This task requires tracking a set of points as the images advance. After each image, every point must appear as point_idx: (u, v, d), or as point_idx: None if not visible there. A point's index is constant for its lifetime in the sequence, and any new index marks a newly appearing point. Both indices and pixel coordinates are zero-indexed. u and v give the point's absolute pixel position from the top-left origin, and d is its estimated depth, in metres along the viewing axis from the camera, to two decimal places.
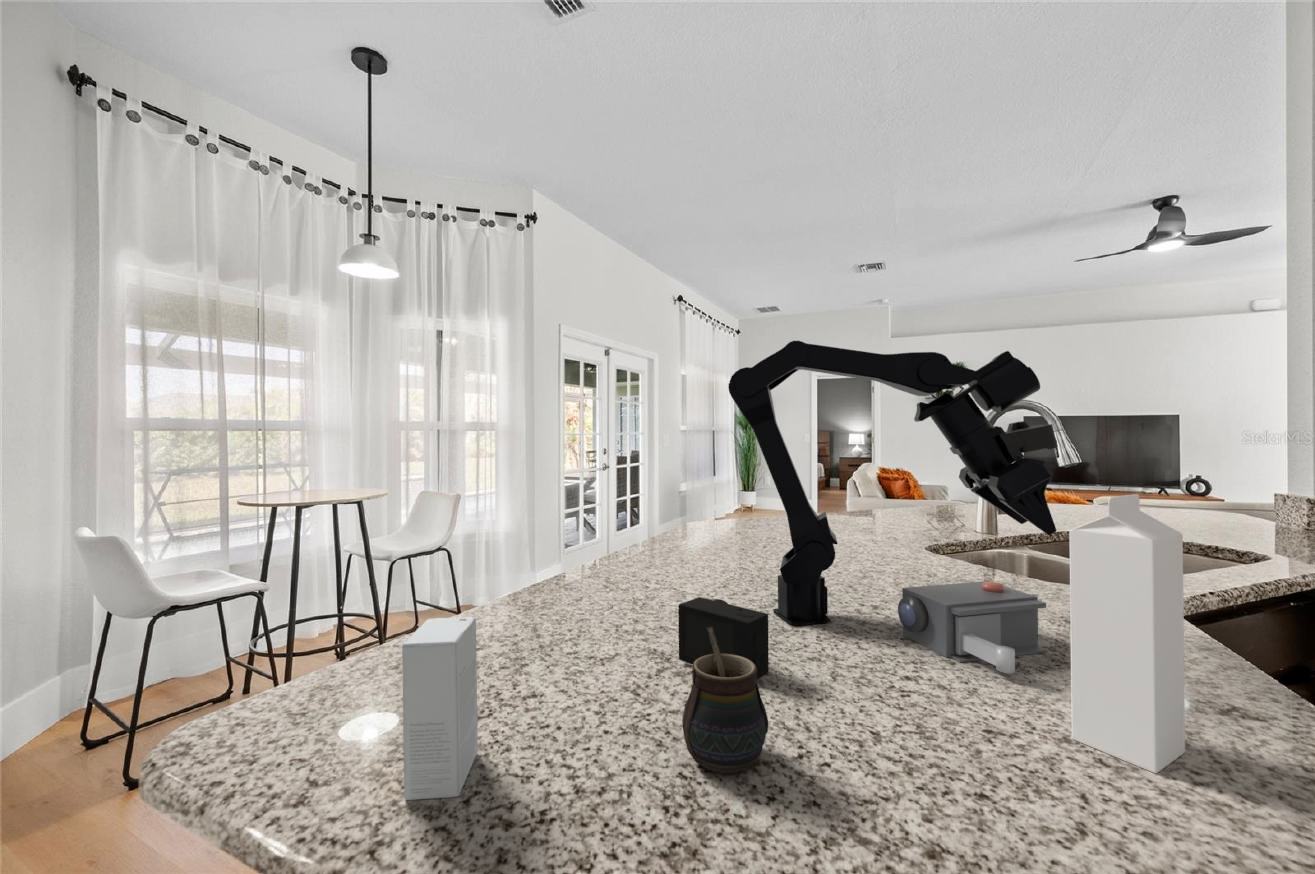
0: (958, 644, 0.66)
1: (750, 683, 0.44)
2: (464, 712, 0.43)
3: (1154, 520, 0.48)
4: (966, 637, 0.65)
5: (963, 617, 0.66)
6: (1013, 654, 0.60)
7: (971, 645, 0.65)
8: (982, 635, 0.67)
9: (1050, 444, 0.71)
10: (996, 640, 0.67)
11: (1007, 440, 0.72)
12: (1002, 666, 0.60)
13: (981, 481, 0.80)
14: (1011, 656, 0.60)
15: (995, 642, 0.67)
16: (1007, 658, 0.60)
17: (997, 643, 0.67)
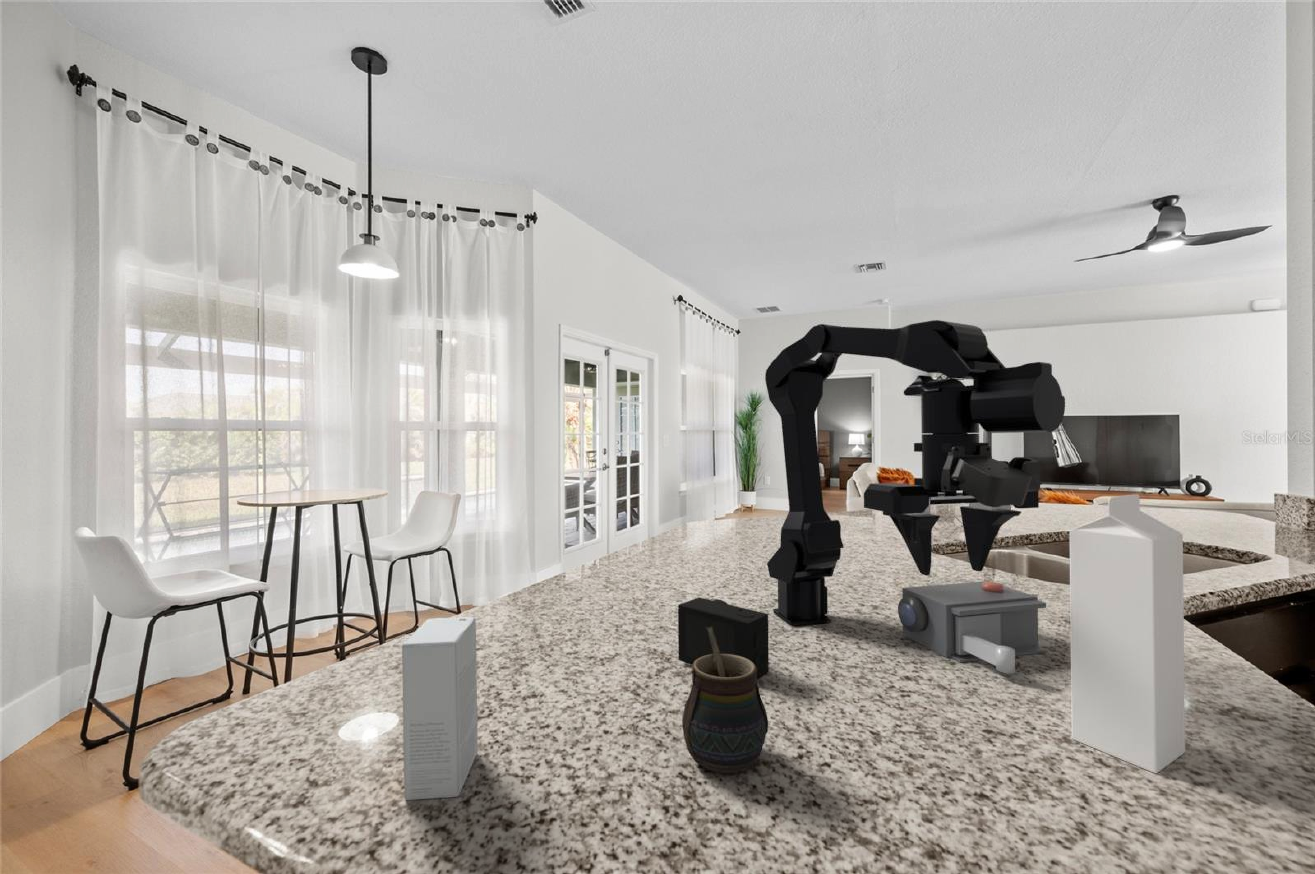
0: (958, 644, 0.66)
1: (749, 683, 0.44)
2: (464, 712, 0.43)
3: (1154, 520, 0.48)
4: (966, 637, 0.65)
5: (963, 617, 0.66)
6: (1013, 654, 0.60)
7: (971, 645, 0.65)
8: (982, 635, 0.67)
9: (981, 497, 0.54)
10: (996, 640, 0.67)
11: (948, 464, 0.57)
12: (1002, 666, 0.60)
13: None
14: (1011, 656, 0.60)
15: (995, 642, 0.67)
16: (1007, 658, 0.60)
17: (997, 643, 0.67)
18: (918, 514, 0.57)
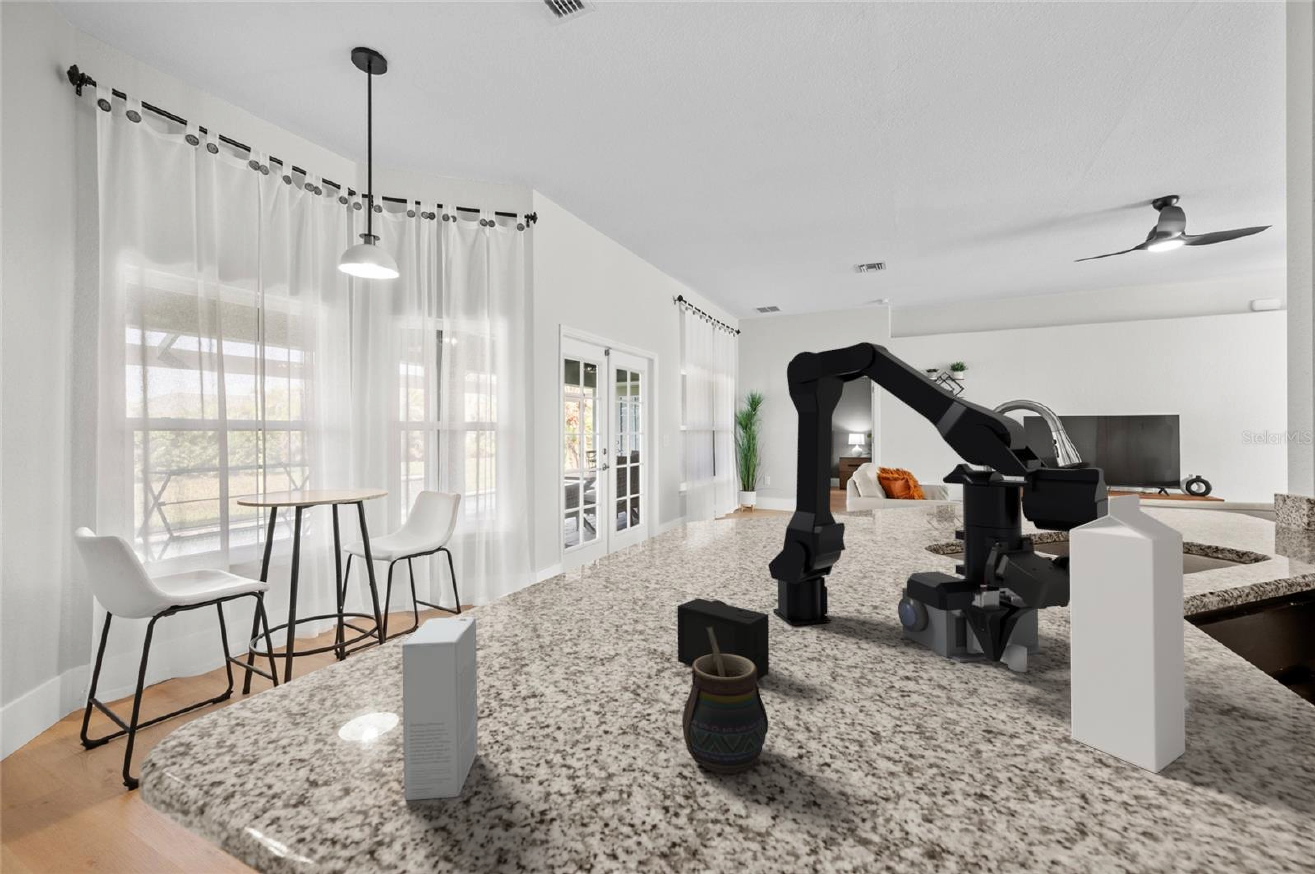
0: (969, 643, 0.66)
1: (749, 683, 0.44)
2: (464, 712, 0.43)
3: (1154, 520, 0.48)
4: None
5: None
6: (1025, 653, 0.60)
7: None
8: None
9: (1027, 598, 0.55)
10: None
11: (991, 559, 0.59)
12: (1014, 664, 0.61)
13: None
14: (1024, 655, 0.60)
15: None
16: (1019, 657, 0.60)
17: (1008, 642, 0.67)
18: (988, 606, 0.59)
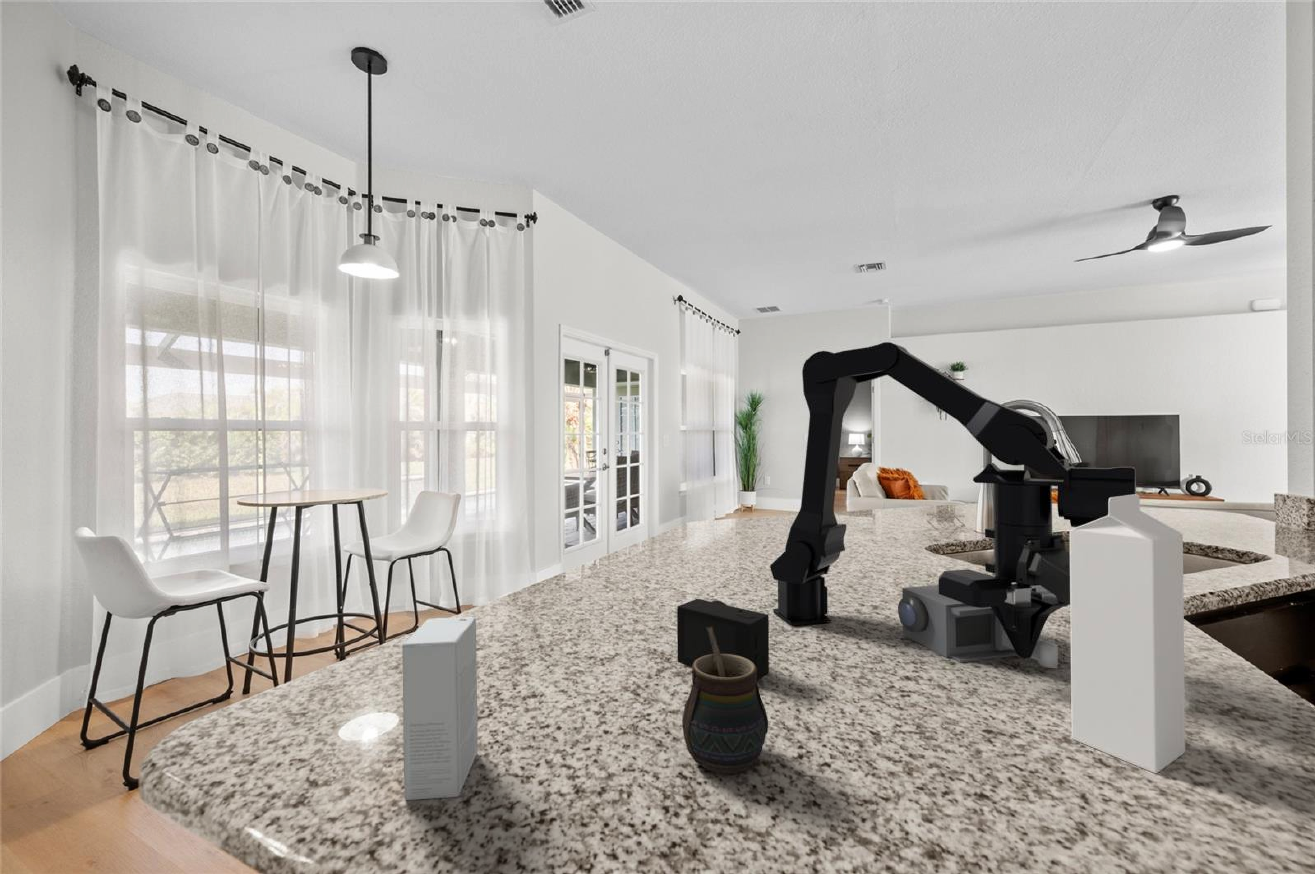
0: (998, 640, 0.67)
1: (749, 683, 0.44)
2: (464, 712, 0.43)
3: (1154, 520, 0.48)
4: None
5: None
6: (1056, 649, 0.61)
7: None
8: None
9: (1060, 595, 0.56)
10: None
11: (1024, 557, 0.60)
12: (1045, 661, 0.62)
13: None
14: (1054, 651, 0.61)
15: None
16: (1050, 653, 0.61)
17: None
18: (1020, 603, 0.60)
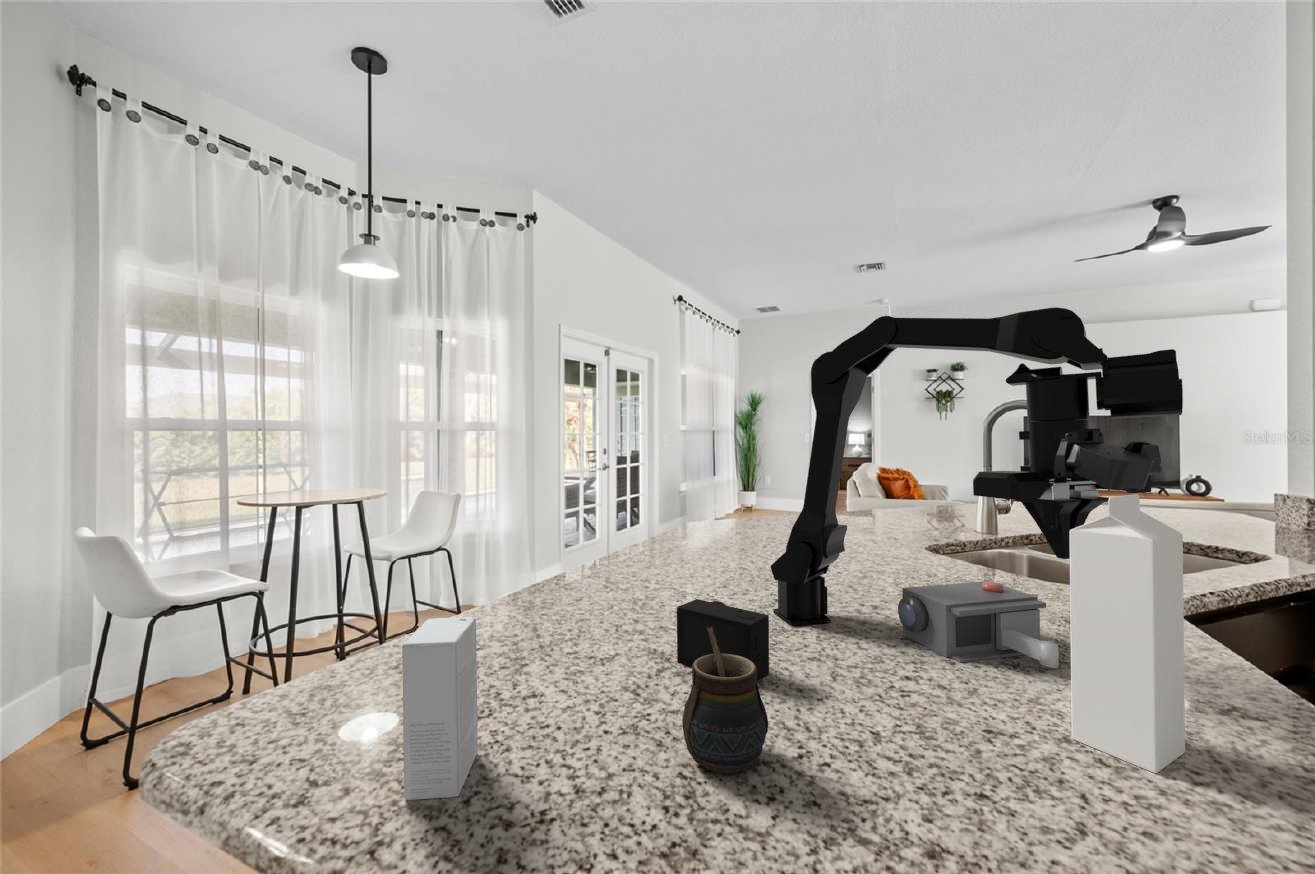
0: (999, 639, 0.67)
1: (750, 683, 0.44)
2: (464, 712, 0.43)
3: (1154, 520, 0.48)
4: (1007, 633, 0.67)
5: (1004, 613, 0.67)
6: (1057, 649, 0.61)
7: (1012, 640, 0.66)
8: (1022, 631, 0.68)
9: (1102, 481, 0.54)
10: (1035, 636, 0.68)
11: (1061, 450, 0.58)
12: (1046, 660, 0.62)
13: None
14: (1055, 651, 0.61)
15: (1035, 638, 0.68)
16: (1051, 653, 0.61)
17: (1036, 639, 0.68)
18: (1058, 498, 0.59)
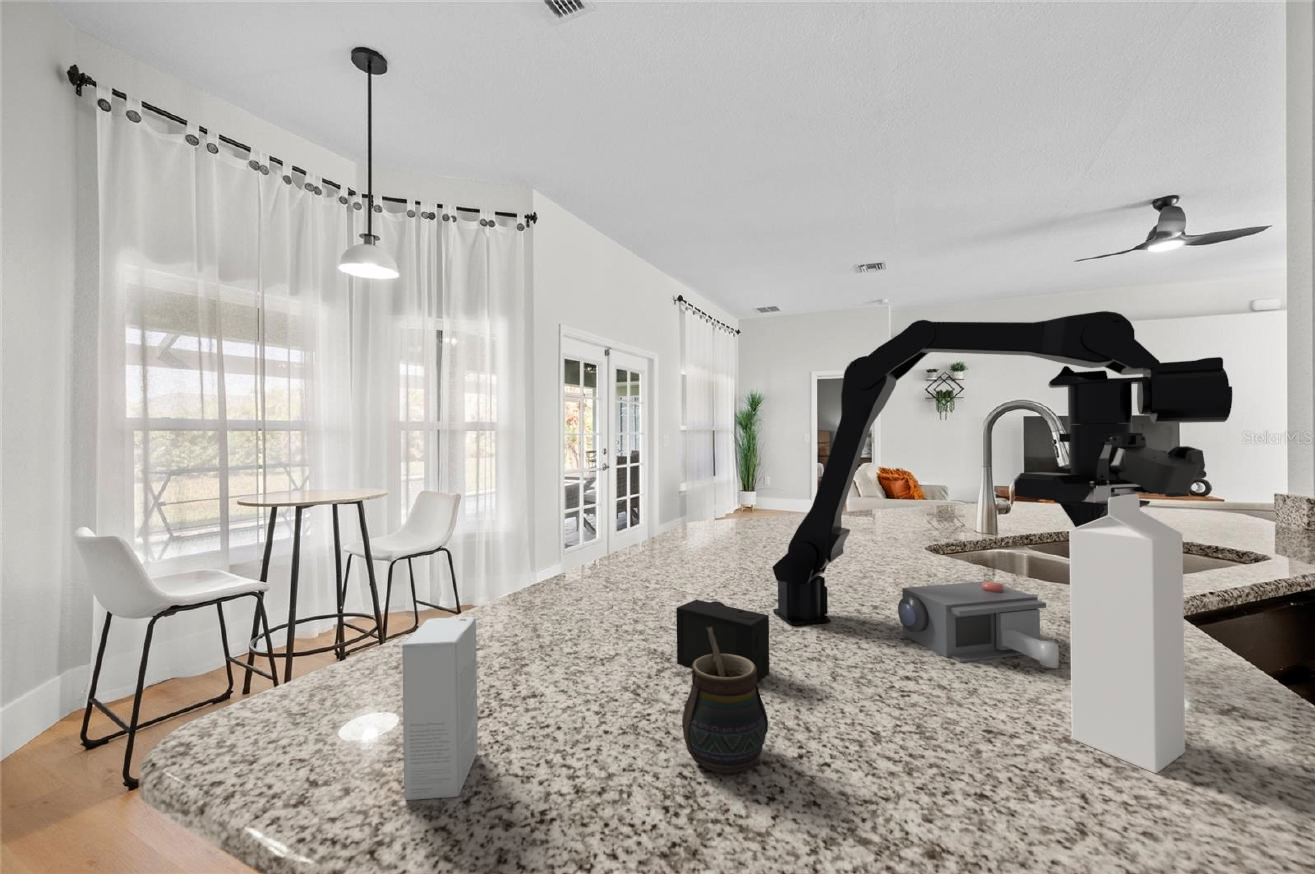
0: (999, 639, 0.67)
1: (749, 683, 0.44)
2: (464, 712, 0.43)
3: (1154, 520, 0.48)
4: (1007, 633, 0.67)
5: (1004, 613, 0.67)
6: (1057, 649, 0.61)
7: (1012, 640, 0.66)
8: (1022, 631, 0.68)
9: (1148, 485, 0.55)
10: (1035, 636, 0.68)
11: (1105, 453, 0.59)
12: (1046, 660, 0.62)
13: None
14: (1055, 651, 0.61)
15: (1035, 638, 0.68)
16: (1051, 653, 0.61)
17: (1036, 639, 0.68)
18: (1100, 501, 0.59)
